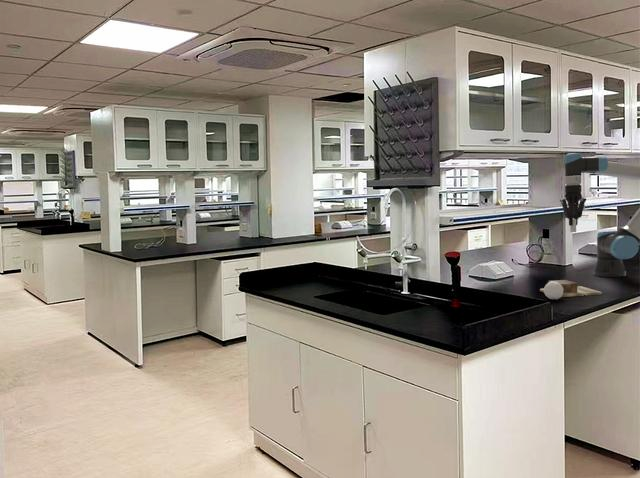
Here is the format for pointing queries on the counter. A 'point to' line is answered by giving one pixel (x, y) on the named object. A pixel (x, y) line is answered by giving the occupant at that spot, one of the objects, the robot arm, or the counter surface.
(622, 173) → the robot arm
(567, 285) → the wooden block
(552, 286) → the geometric ball
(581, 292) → the board
